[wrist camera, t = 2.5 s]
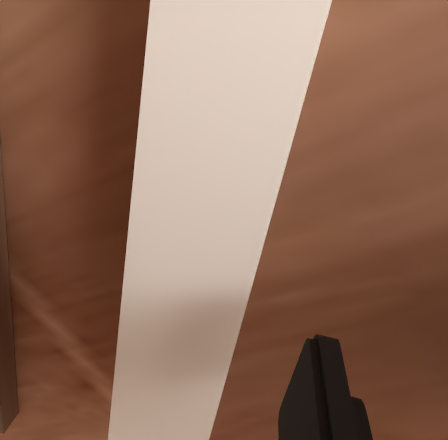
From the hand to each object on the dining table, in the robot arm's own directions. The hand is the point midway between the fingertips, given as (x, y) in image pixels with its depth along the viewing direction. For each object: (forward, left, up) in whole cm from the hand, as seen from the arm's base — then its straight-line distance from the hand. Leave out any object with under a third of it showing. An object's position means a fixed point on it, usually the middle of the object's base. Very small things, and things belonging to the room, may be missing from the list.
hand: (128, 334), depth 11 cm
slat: (-1, 0, -8) cm, 8 cm away
